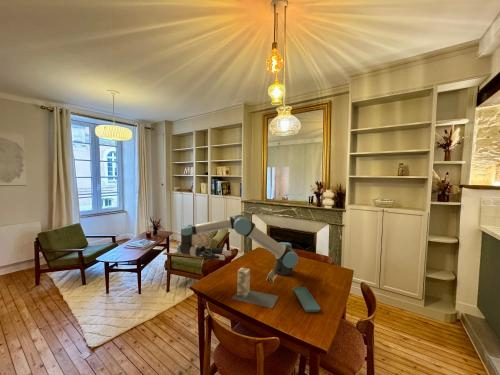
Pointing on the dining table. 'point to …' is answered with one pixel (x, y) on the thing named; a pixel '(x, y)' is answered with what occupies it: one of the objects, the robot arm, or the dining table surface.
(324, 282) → the dining table surface
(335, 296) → the dining table surface
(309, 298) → the shallow long dish
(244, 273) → the birch block
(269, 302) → the rubber mat
